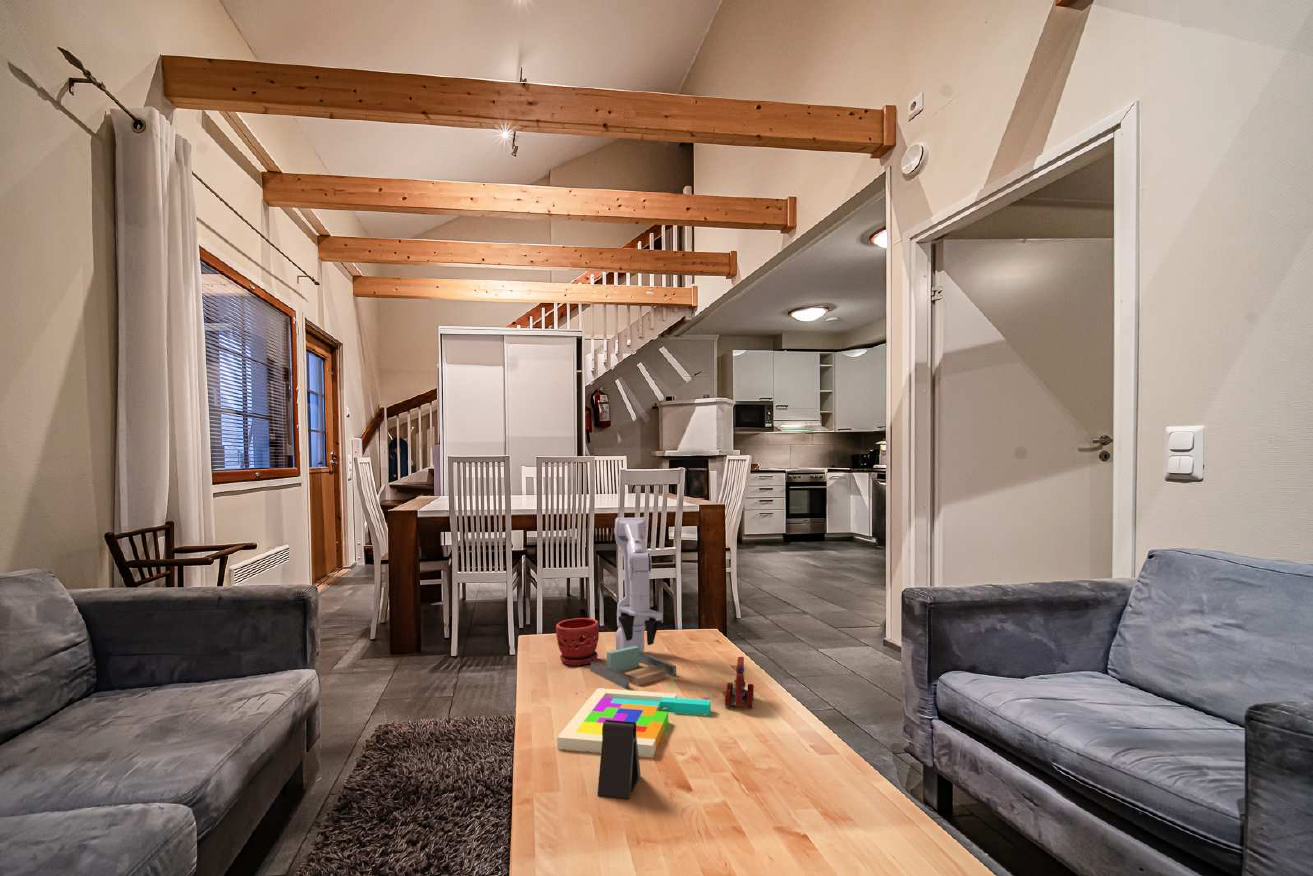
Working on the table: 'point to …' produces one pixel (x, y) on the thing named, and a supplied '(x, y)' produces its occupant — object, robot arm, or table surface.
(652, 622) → the robot arm
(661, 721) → the puzzle game
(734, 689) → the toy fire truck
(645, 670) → the offcut upper
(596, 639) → the plant pot
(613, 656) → the teal board
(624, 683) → the rack
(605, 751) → the phone stand
